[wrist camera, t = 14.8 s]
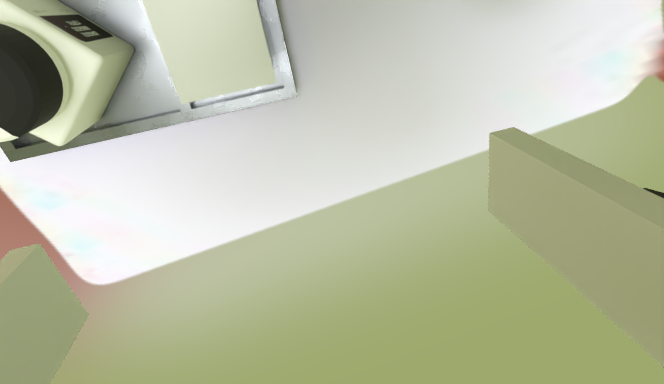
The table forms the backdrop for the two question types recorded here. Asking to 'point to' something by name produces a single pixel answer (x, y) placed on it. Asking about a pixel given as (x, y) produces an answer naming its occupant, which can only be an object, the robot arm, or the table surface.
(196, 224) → the table surface
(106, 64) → the container
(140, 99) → the rack tray
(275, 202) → the table surface
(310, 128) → the table surface
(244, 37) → the filler block
